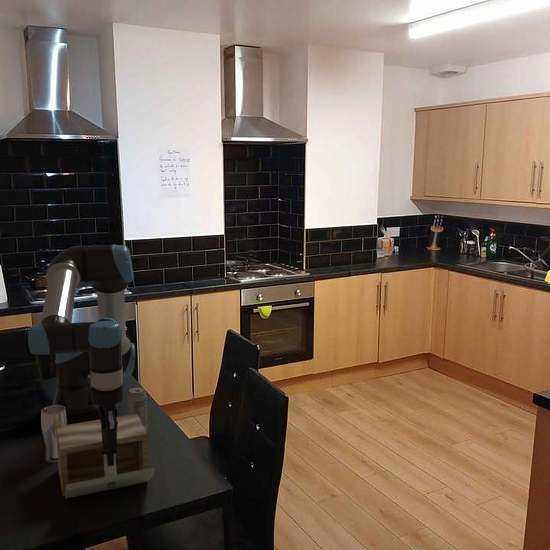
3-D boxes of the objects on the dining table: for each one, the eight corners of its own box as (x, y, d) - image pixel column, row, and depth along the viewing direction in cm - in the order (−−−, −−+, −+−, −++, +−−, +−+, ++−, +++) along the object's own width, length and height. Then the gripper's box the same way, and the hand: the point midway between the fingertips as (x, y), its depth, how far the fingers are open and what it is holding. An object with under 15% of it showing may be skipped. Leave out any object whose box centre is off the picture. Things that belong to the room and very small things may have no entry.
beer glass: (44, 465, 165) (41, 416, 162) (42, 454, 171) (39, 407, 168) (70, 460, 168) (67, 411, 165) (66, 450, 174) (64, 403, 171)
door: (64, 493, 147) (66, 484, 138) (147, 477, 156) (154, 467, 146) (65, 502, 146) (67, 494, 137) (148, 485, 155) (155, 476, 145)
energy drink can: (141, 428, 189) (140, 385, 187) (151, 435, 185) (149, 390, 182) (124, 433, 185) (123, 389, 183) (133, 440, 181) (132, 395, 178)
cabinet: (58, 473, 161) (56, 426, 158) (138, 458, 170) (137, 413, 167) (62, 499, 148) (60, 448, 146) (148, 482, 157) (147, 433, 155)
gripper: (87, 378, 144) (91, 466, 148) (94, 397, 133) (98, 491, 137) (118, 375, 147) (121, 461, 151) (127, 392, 136) (130, 485, 140)
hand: (110, 475), depth 144 cm, fingers closed
